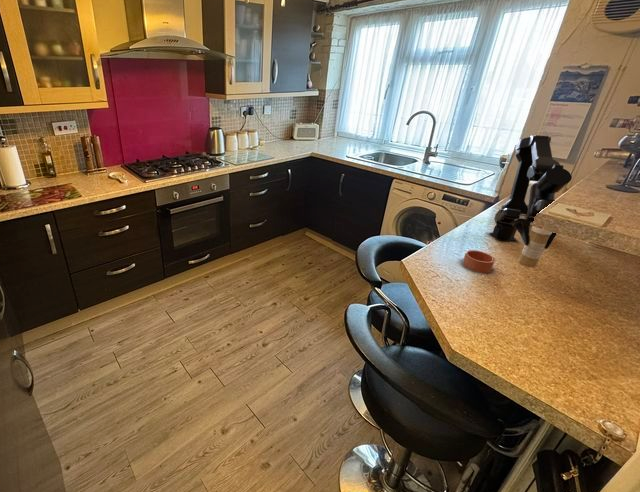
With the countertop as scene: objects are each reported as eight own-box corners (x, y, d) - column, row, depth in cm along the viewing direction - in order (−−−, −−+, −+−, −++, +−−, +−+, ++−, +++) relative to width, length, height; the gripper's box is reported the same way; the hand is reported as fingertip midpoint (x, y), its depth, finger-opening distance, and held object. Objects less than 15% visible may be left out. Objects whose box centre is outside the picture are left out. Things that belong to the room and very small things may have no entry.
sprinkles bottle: (520, 258, 102) (536, 221, 96) (538, 265, 99) (556, 226, 93) (515, 263, 100) (531, 225, 94) (533, 270, 96) (551, 230, 91)
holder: (479, 259, 113) (483, 249, 112) (496, 272, 106) (500, 262, 104) (457, 260, 113) (460, 250, 112) (473, 273, 106) (476, 262, 104)
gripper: (513, 183, 96) (507, 230, 92) (598, 193, 88) (595, 245, 84) (500, 199, 106) (494, 242, 102) (576, 209, 98) (572, 257, 94)
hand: (536, 246), depth 95 cm, fingers closed on sprinkles bottle, 4 cm apart
